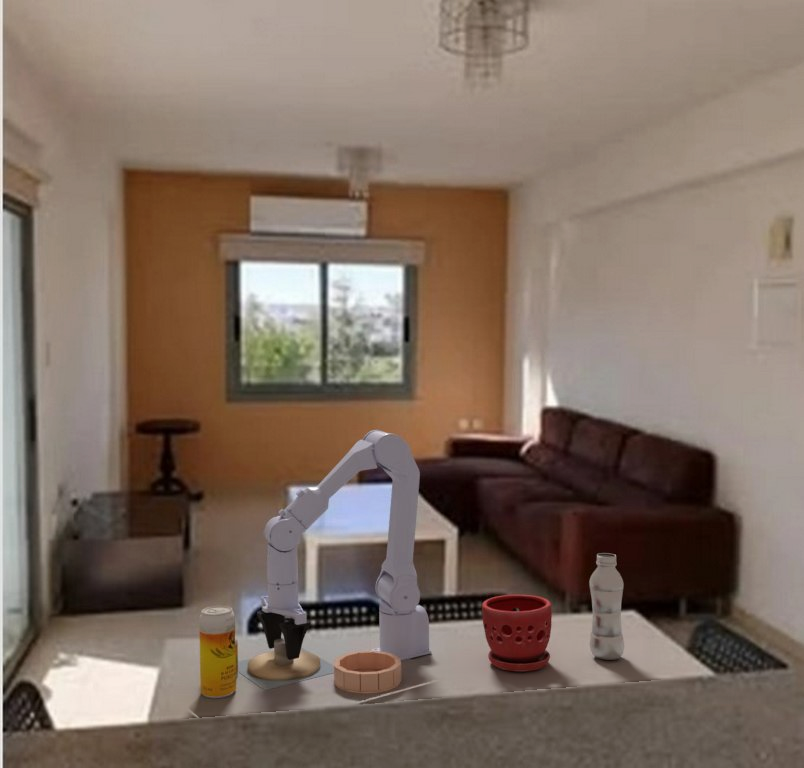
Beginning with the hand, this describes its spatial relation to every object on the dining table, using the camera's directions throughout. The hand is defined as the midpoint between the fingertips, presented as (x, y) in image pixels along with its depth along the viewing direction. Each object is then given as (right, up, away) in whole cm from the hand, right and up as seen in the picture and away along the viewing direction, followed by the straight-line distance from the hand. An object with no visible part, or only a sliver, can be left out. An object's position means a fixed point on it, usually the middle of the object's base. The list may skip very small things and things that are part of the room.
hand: (283, 652), depth 171 cm
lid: (0, -3, 0) cm, 3 cm away
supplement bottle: (-11, -4, -4) cm, 12 cm away
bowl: (+16, -4, -7) cm, 18 cm away
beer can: (-10, -4, -12) cm, 16 cm away
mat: (0, -3, 0) cm, 3 cm away
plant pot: (+44, -3, +2) cm, 44 cm away
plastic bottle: (+62, -3, +5) cm, 62 cm away
